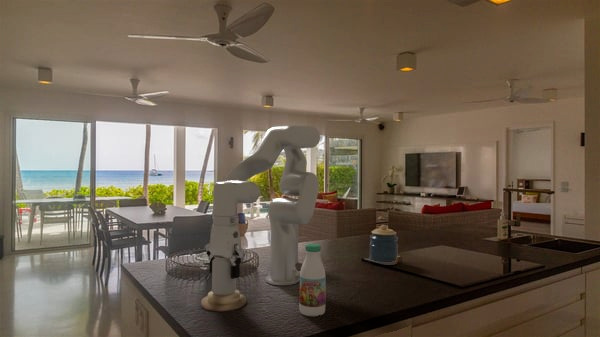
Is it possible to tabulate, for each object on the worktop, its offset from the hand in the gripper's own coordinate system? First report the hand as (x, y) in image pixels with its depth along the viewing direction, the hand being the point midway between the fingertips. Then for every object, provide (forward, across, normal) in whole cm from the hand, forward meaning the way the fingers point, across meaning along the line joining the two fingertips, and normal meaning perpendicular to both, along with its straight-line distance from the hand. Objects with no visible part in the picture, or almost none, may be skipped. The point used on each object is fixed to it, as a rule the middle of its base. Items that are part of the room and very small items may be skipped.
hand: (224, 275), depth 117 cm
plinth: (+9, 0, 0) cm, 9 cm away
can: (+6, 0, 0) cm, 6 cm away
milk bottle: (+9, -26, -11) cm, 30 cm away
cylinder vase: (+9, +16, -51) cm, 55 cm away
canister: (+9, -19, -80) cm, 83 cm away
